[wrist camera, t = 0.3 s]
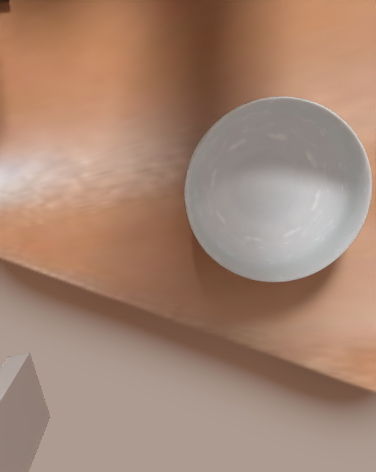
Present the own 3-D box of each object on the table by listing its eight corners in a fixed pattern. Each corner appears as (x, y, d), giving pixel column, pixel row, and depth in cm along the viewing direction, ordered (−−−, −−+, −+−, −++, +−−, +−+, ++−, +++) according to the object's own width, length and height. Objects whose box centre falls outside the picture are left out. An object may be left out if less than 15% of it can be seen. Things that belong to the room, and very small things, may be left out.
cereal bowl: (155, 214, 39) (149, 228, 32) (236, 72, 36) (248, 54, 29) (284, 287, 41) (304, 314, 34) (371, 159, 38) (413, 162, 31)
